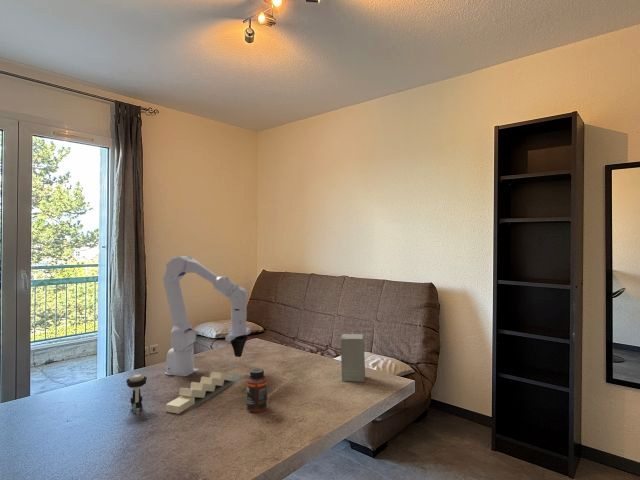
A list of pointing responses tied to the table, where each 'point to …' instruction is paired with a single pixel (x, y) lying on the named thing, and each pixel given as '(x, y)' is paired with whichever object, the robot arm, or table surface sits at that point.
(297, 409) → the table surface
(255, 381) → the supplement bottle
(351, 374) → the skincare box
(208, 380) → the domino
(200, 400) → the mat
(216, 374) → the domino
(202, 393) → the domino
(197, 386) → the domino
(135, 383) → the push button
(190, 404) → the domino
